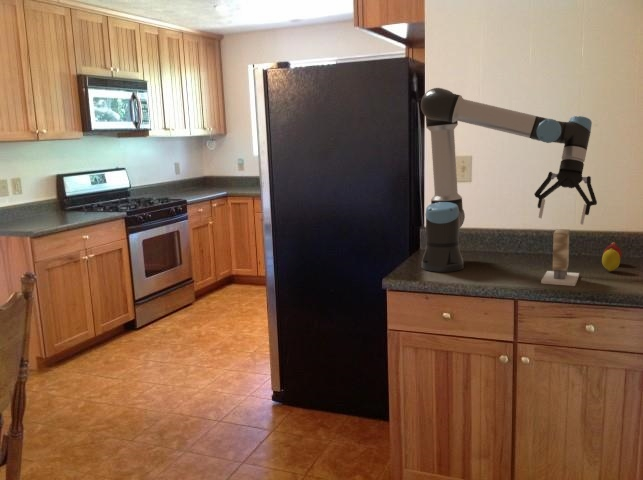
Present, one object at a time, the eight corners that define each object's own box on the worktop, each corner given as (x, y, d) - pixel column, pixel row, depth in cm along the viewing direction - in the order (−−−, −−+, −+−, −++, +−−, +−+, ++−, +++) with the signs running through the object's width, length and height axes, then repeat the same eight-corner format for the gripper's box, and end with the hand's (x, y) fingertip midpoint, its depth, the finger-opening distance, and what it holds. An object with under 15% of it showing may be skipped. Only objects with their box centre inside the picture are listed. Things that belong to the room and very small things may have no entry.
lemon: (621, 273, 198) (622, 250, 196) (603, 273, 199) (604, 250, 197) (616, 269, 203) (618, 246, 202) (599, 269, 204) (600, 246, 203)
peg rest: (541, 283, 189) (541, 271, 188) (547, 273, 201) (547, 262, 201) (574, 286, 184) (575, 273, 184) (579, 276, 197) (579, 264, 196)
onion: (613, 266, 207) (614, 244, 206) (599, 263, 213) (600, 242, 211) (624, 264, 210) (625, 242, 209) (610, 261, 215) (611, 240, 214)
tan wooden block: (552, 269, 190) (553, 233, 188) (555, 264, 197) (556, 229, 195) (565, 270, 188) (567, 233, 186) (568, 265, 195) (569, 229, 193)
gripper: (611, 168, 203) (600, 228, 201) (536, 160, 214) (524, 217, 213) (612, 162, 196) (599, 224, 195) (534, 154, 207) (522, 213, 206)
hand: (560, 220), depth 204 cm, fingers open, 13 cm apart
